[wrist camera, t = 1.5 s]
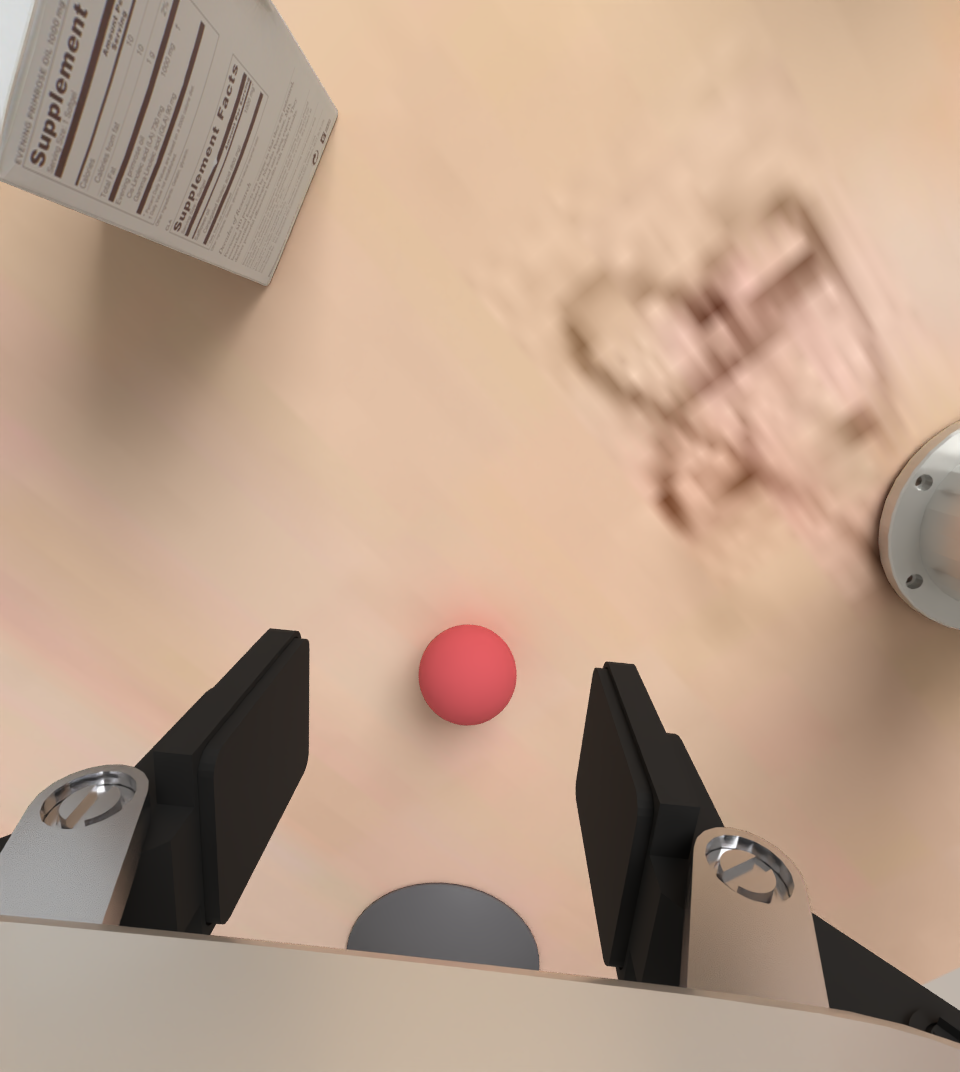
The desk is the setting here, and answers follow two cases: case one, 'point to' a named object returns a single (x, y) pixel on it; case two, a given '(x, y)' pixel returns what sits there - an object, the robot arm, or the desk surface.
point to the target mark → (446, 927)
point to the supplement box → (165, 120)
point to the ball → (467, 675)
